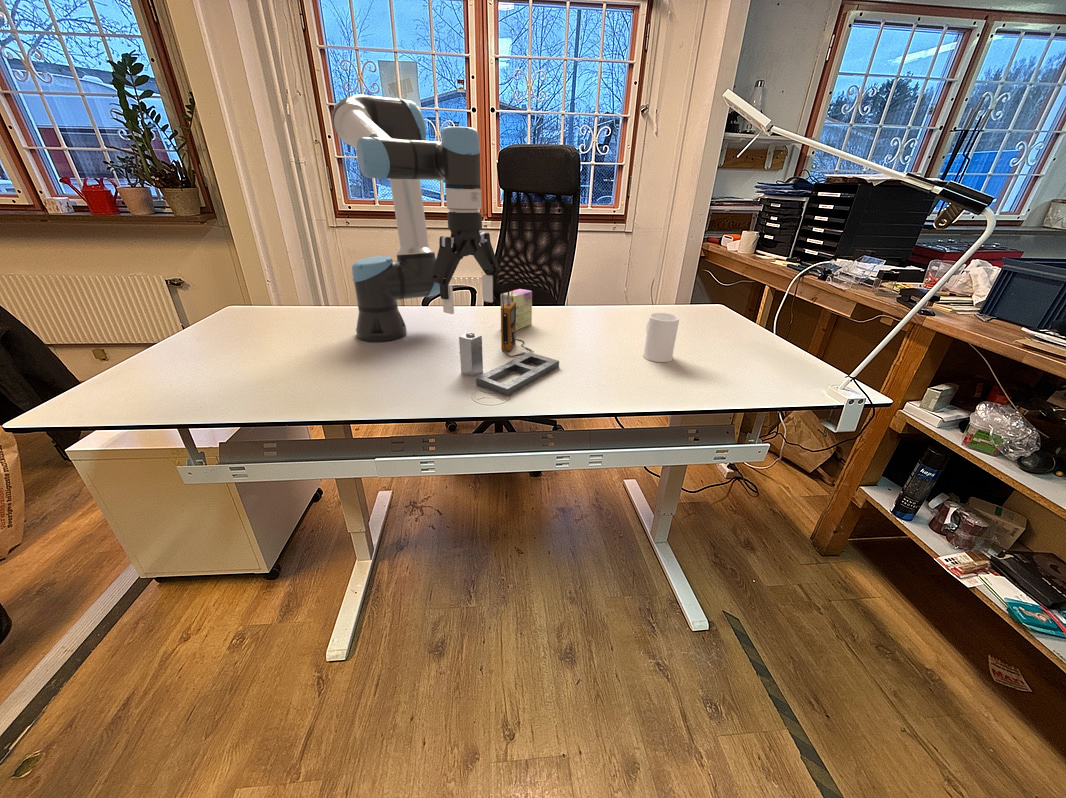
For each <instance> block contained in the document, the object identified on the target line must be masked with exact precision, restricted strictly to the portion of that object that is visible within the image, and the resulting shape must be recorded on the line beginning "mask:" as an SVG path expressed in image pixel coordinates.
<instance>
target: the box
mask: <svg viewBox="0 0 1066 798" xmlns="http://www.w3.org/2000/svg"><path fill="white" fill-rule="evenodd" d="M508 294H510V302H512V297H513V302H516V331H518V330H520V329H523V328H525V327H528V326H532V325H533V323H532V322H533V312H532V311H533V291H532V290H529V289H522V288H518V289H514V290H513V291H512V290H511V291H510V290H509V291H507V292H503V300H502V293H500V308H501V307H502V306H503V303H504V304H505V303H506V302H507V295H508Z"/></svg>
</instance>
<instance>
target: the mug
mask: <svg viewBox="0 0 1066 798" xmlns="http://www.w3.org/2000/svg"><path fill="white" fill-rule="evenodd" d="M648 317H649V319H648V321H647V323H646V331H645V333H646V336H645V344H644V349H643V352H642V357H643V358H644V359H646V360H648V361H651V362H655V363H669V362H672V361H673V359H674V350H675V343H676V339H677V333H678V328H679V322H680V317H679V316H677V315H675V314H671V313H667V312H655V313H651V314H650V315H649V316H648Z"/></svg>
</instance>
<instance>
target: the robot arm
mask: <svg viewBox="0 0 1066 798" xmlns="http://www.w3.org/2000/svg"><path fill="white" fill-rule="evenodd" d="M331 115H332V116H331V123H332V127H333V129H334V131H335V132H336V134H337V136H338V137H339V138H340V139H341V140H342V141H343V142H344V143H345V144H347V145H349V146H351V147H353V148H354V149H355V150H356V158H357V163H358V167H359V169H360V172H361V174H362V176H364V178H367V179H376V180H389V182H390V183H389V184H390V188H391V189H390V190H391V196H392V201H393V207H394V208H393V209H394V213H395V215H394V216H395V222H396V228H397V233H398V241H399V246H400V247H399V250H398V252H397V253H396V260H393V258H392V257H391V256H390V255H381V256H380V255H376V256H375V255H373V256H371V257H370V256H369V257H365V258H362V259H359V260H356V261H355V262H354V263H353V264H352V266H351V273H352V281H353V286H354V290H355V296H356V303H357V307H358V317H357V320H356V328H355V331H356V337H357V339H359V340H360V341H364V342H373V343H374V342H378V343H379V342H380V343H381V342H389V341H394V340H397V339H401V338H403V337H404V336H406V334H407V325H406V323H405V320H404V319H403V317H402V314H401V312H400V311H399V307H398V301H399V300H405V299H406V300H408V299H416V298H429V297H432V296H437V295H440V299H441V300H442V309H443V311H442V312H443V313H446V314H450V315H453V314H455V308H454V307H455V306H454V294H453V293H454V292H453V289H454V288H453V284H451V283H450V282H451V280H452V278H453V276H454V273H455V272H456V270H457V267H458V266H459V263H460V261H461V260H463V258H464V257H468V256H473V257H474V259H475V260H476V262H477V264H478V265H479V267H480V268H481V270H482V271H483V272H484V274H481V281H482V302H486V303H493V302H494V292H493V291H494V285H495V284H494V279H495V278H494V276H497V275H498V272H499V271H500V265H499V263H498V260H497V257H496V254H495V251H494V248H493V246H492V243H491V235H490V233H489V232H484V231H481V230H482V229H483V214H482V213H481V212H480V211H479V210H481V209H482V191H481V188H482V187H481V184H482V183H481V148H480V139H479V137H480V136H479V133H478V131H477V130H476V129H475V128H474V127H469V126H468V127H467V126H445V127H444V128H443V129H442V131H441V141H434V140H433V141H432V140H427V128H426V127H427V126H426V122H425V119H424V116H423V113H422V111H421V108H420V107H419V105H418V104H417V103H415V102H414V101H412V100H409V99H403V98H401V97H398V98H397V97H387V96H376V95H367V94H352V95H349V96H346V97H344V98H343V99H341V100H340V101H338V102H337V104H336V105H335V106H334V108H333V110H332V114H331ZM421 180H427V181H428V180H429V181H432V180H434V181H444V184H445V199H446V200H445V201H446V209H447V210H449V211H448V212H447V214H446V215H447V218H446V219H447V228H448V230H449V231H450V236H442V235H441V236H439V242H438V243H439V248H438V251H437V255H436V253H435V251H434V250H433V249H432V248H431V247H430V245H429V240H428V239H429V237H428V231H427V230H428V229H427V224H426V223H427V221H426V216H425V210H424V209H425V208H424V201H423V194H422V184H421Z"/></svg>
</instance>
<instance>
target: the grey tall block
mask: <svg viewBox="0 0 1066 798" xmlns="http://www.w3.org/2000/svg"><path fill="white" fill-rule="evenodd" d="M458 342H459V356H460V357H459V358H460V361H459V362H460V373H461V374H463V375H466V376H469V377H471V378H473V377H475V376H476V377H477V376H479V375H480V374H481V373H482V374H483V373H484V364H483V363H484V362H483V361H484V360H483V337H482V335H481V334H477V333H473V332H468V333H467V332H466V333H465V334H462V335H459V336H458Z"/></svg>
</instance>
